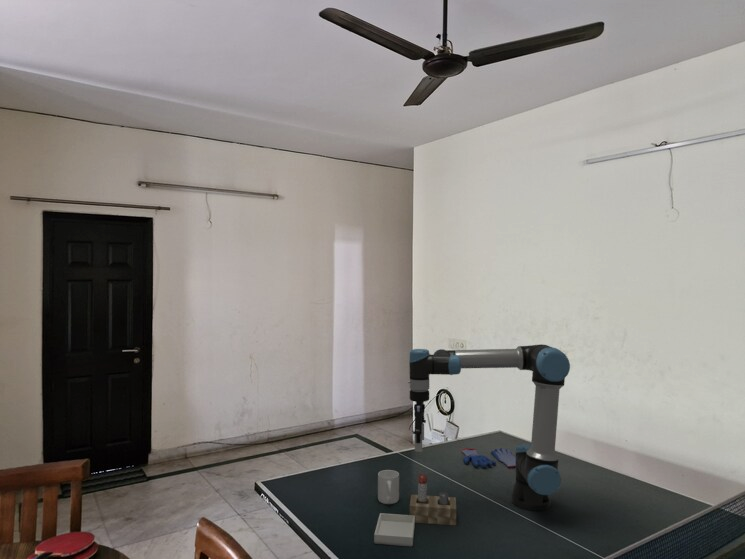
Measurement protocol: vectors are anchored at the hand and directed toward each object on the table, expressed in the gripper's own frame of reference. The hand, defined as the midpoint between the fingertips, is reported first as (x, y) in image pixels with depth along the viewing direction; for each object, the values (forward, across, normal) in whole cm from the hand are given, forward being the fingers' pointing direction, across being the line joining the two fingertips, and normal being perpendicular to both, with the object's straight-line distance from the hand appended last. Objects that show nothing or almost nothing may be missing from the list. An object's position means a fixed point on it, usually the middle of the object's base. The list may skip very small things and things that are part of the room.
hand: (419, 445), depth 189 cm
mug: (+27, -9, -13) cm, 31 cm away
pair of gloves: (+28, -66, +32) cm, 79 cm away
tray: (+26, +16, -8) cm, 32 cm away
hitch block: (+26, +1, +5) cm, 27 cm away
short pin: (+26, +1, +9) cm, 28 cm away
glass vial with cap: (+26, +1, +1) cm, 27 cm away
